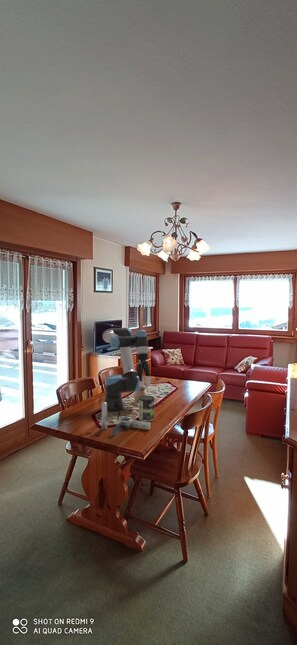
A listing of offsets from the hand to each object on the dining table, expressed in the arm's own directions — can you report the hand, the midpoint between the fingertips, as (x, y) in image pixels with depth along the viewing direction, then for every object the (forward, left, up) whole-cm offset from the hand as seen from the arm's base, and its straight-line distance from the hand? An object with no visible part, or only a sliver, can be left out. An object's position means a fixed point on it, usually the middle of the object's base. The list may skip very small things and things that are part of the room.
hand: (145, 386), depth 199 cm
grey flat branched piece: (-3, -17, -23) cm, 29 cm away
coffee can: (-1, +5, -23) cm, 23 cm away
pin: (-19, -20, -23) cm, 36 cm away
